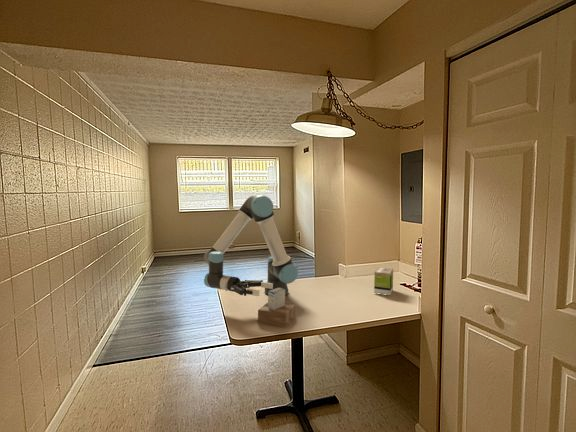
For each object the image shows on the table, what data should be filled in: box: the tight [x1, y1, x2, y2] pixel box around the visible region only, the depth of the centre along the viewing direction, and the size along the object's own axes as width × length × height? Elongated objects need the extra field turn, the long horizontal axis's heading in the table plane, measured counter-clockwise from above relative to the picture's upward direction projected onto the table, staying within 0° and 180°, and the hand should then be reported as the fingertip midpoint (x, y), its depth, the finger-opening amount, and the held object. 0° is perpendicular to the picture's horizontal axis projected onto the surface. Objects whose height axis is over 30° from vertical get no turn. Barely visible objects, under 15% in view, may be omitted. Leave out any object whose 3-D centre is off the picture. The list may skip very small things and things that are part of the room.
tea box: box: [373, 267, 394, 296], centre depth 203 cm, size 15×10×15 cm, turn 154°
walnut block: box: [257, 302, 296, 329], centre depth 153 cm, size 14×14×7 cm
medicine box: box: [267, 288, 286, 310], centre depth 152 cm, size 8×4×9 cm, turn 140°
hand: (266, 289), depth 154 cm, fingers open, 13 cm apart
